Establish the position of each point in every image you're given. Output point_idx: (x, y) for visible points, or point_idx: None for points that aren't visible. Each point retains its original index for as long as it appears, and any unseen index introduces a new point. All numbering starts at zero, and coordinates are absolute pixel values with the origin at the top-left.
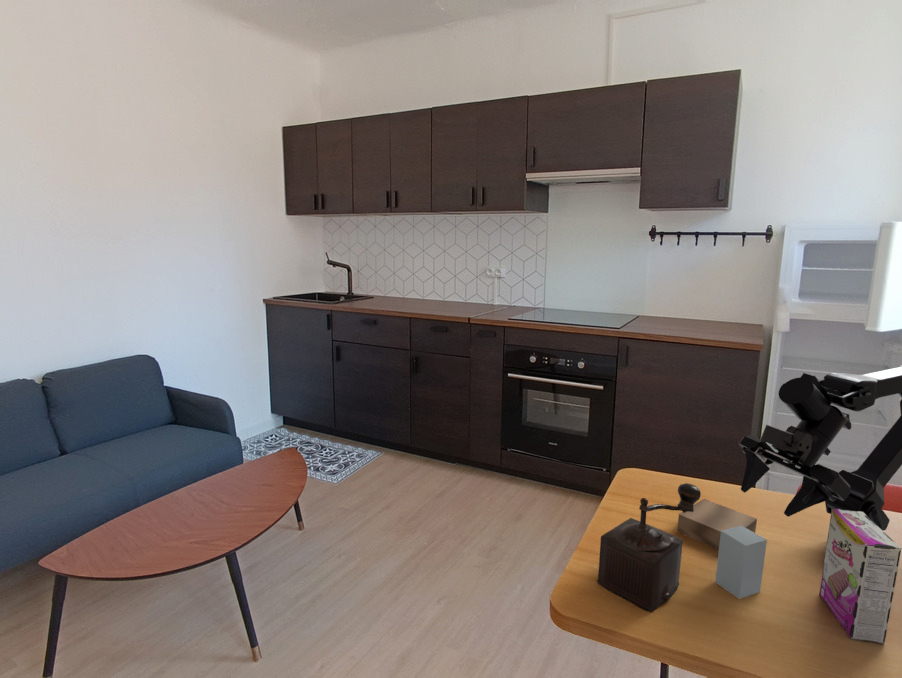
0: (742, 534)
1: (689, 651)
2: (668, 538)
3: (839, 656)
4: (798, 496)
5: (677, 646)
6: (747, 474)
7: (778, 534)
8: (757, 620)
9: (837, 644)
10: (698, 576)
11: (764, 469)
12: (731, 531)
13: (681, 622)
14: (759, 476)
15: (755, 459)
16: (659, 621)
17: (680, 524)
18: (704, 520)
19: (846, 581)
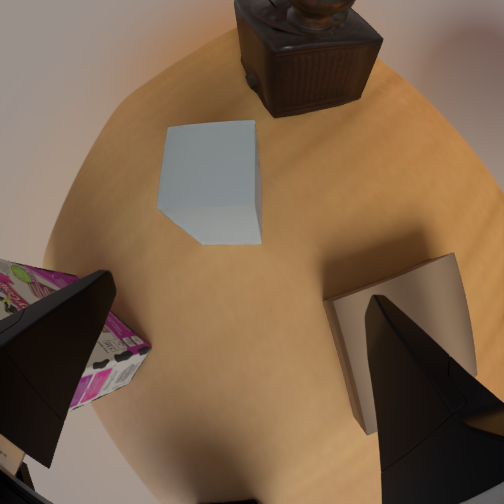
0: (211, 161)
1: (170, 66)
2: (277, 24)
3: (70, 225)
4: (25, 317)
5: (182, 59)
6: (424, 351)
7: (334, 465)
8: (156, 175)
9: (79, 246)
10: (287, 171)
11: (395, 496)
12: (238, 143)
13: (208, 79)
14: (387, 443)
15: (478, 458)
16: (223, 61)
17: (436, 258)
18: (417, 293)
19: (40, 287)
